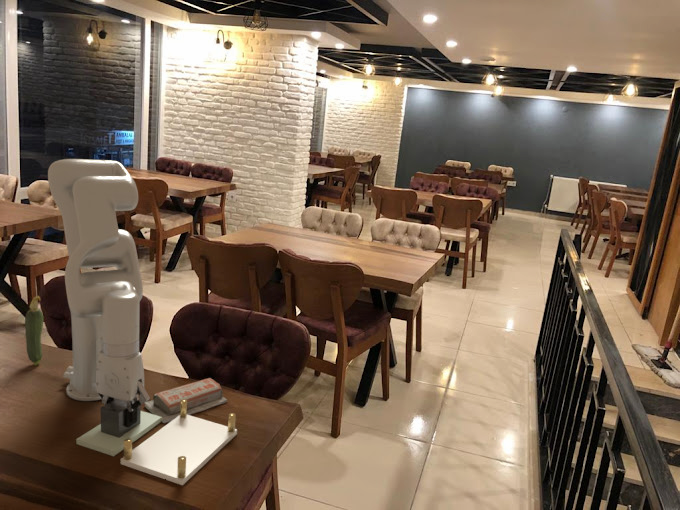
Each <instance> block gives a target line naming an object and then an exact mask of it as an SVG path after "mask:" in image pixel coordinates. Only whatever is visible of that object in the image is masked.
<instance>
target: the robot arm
mask: <svg viewBox="0 0 680 510" xmlns="http://www.w3.org/2000/svg"><path fill="white" fill-rule="evenodd" d="M47 180H48V187H49V191H50V193H51V196H52V198H53V200H54V203H55V205H56V207H57V209H58V210H59V213H60V216H61V218H62V224H63V230H64V235H65V236H64V237H65V243H66V251H67V254H68V260H67V262H66V264H65V265H66V266H65V271H64V283H65V290H66V291H65V292H66V298H67V304H68V308H69V311H70V317H71V338H72V341H71V342H72V343H71V344H72V347H71V348H72V366H71V365H69V366H68V367H67V368H66V371H65V372H64V373H63V375H62V377H63V378H67V379H69V384H67V386H66V390H65V391H66V395H67V396H68V397H69V398H70V399H73V400H76V401H81V402H93V401H100V400H101V403H102V404H103V405H106V404H108V403H109V402H111V401H113V400H114V399H119V400H122V401H126V405H127V409H128V410H127V411H126V427H127V428H129V427H130V426H132V425H133V424H135V423H136V422H137V408H138V407H139V406H140V405H141V406H142V405H143V404H145V402H148V401H150V399H151V397H150V396H149V394H148V392H147V390H146V388H145V370H144V369H145V368H144V362H143V361H144V360H143V357H142V353H141V352H140V302H141V300H142V299H143V293H144V288H143V282H142V279H143V278H142V275H141V274H142V273H141V268H140V263H139V259H138V257H139V256H138V253H137V247H136V242H135V240H134V238H133V236H132V234H131V233H130V232H129V231H127V230H126V229H120V228H119V226H118V220H117V215H116V214H117V213H116V212H124V211H125V212H126V211H132V210H135V209H136V208H137V206H138V203H139V191H138V187H137V184H136V181H135V179H134V178H133V177H132V175H131V174H130V172H129V171H128V170H127V169H126V167H125V166H124V165H123V163H121V162H119V161H117V160H111V159H109V160H108V159H86V158H84V159H83V158H64V159H59V160H55V161H54V162H52V163H51V164H50V166H49V167H48V169H47ZM104 267H115V268H116V269H110V270H94V271H85V272H81V269H88V268H89V269H90V268H91V269H92V268H104ZM132 399H133V401H134V403H133V404H132Z"/></svg>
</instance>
